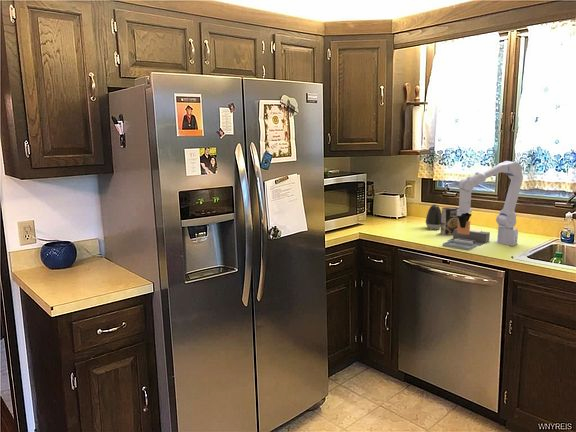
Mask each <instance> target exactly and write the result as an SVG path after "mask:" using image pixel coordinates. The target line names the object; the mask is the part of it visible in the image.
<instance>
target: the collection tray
mask: <svg viewBox="0 0 576 432" xmlns="http://www.w3.org/2000/svg"><path fill="white" fill-rule="evenodd" d="M449 240H450V239H449ZM442 247H447V248H451V249H453V248H454V249H457V250H463V251H470V250H472V249H474V248H476V247H478V246H477V244H472V243H466V242H459V241H453V240H450V241H448V240H447V241H446V242H443V243H442Z"/></svg>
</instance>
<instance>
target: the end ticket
mask: <svg viewBox="0 0 576 432" xmlns="http://www.w3.org/2000/svg"><path fill="white" fill-rule="evenodd" d="M470 229H471V221H466V225H465V228H461V227H460V222H459V220H458V228H457V233H459V234H466V235H469V234H470Z"/></svg>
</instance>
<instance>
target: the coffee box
mask: <svg viewBox="0 0 576 432" xmlns="http://www.w3.org/2000/svg"><path fill="white" fill-rule="evenodd" d="M457 209H459V207H456V206H455V207H454V206H452V207H451V206H450V207H449V206H448V207H442V208H441V213H442V216H441V227H440V234H441V235H443V236H454V229H456V228H458V220H459V219H458V217H457V212H458V211H457Z"/></svg>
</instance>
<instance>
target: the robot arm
mask: <svg viewBox="0 0 576 432" xmlns="http://www.w3.org/2000/svg"><path fill="white" fill-rule="evenodd" d="M500 173H504V174H505V175H507V177H508V178H509V180H510V182H509V186H508V189H507V190H508V191H507V193H506V198H505V199H504V200H505V201H504V204H503V208H502V209H501V210H499V214H498V215H497V216H496V219H495V220H496V223H497V224H498V225H497V240H496V241H495V242H494V243H495V244H501V245H508V246H509V247H510V246H511V247H513V246H515V245H517V244H518V238H519V237H518V235H519V230H518V228H515V226H516V224H517V214H516V211H515V210H516V205H517V203H518V198H519V195H520V191H521V188H522V184H523V179H524V175H523V166H522V165H521V164H520V162H518V161H510V160H504V161H503V162H500V163H498V164H496V165H495V166H493V167H491V168H490V169H488V170H486V171H484V172H481V171H479V172H478V171H477V172H474V174H473V175H471V176H467V177H466V178H463V179H460V181H459V182H458V184H457V187H458V189H459V198H458V199H459V200H458V208H459V209H457V211H458V212H457V217H458V219H459V222H460V227H461V228H465V225H466V221H469V220H470V219H471V217H472V212H473V209H472V208H471V205H472V204H471V202H472V190H474V187H475V188H476V187H478V186H479V185H481V184H483V183H485V182H486V180H487V179H489V178H491V177H493V176H495V175H497V174H500Z"/></svg>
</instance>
